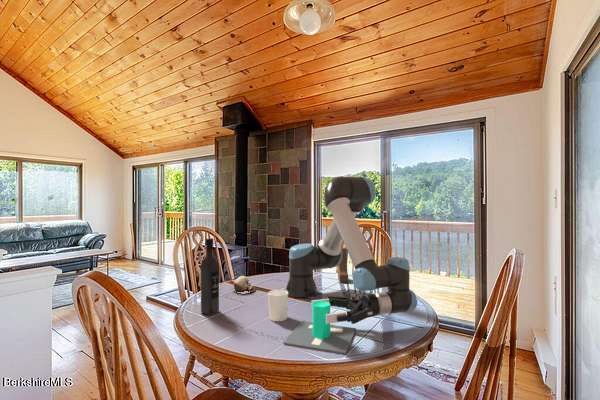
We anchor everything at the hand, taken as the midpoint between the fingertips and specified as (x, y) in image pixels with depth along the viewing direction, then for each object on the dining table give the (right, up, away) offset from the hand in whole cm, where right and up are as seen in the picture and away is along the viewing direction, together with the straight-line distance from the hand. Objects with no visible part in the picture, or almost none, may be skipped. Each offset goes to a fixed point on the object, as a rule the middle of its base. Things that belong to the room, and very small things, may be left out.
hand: (318, 311), depth 102 cm
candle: (+1, -8, 0) cm, 8 cm away
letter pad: (+1, -9, +1) cm, 9 cm away
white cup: (-15, -9, +17) cm, 24 cm away
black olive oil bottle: (-43, -9, +23) cm, 50 cm away
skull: (-35, -9, +52) cm, 63 cm away
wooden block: (+18, -8, +70) cm, 73 cm away
